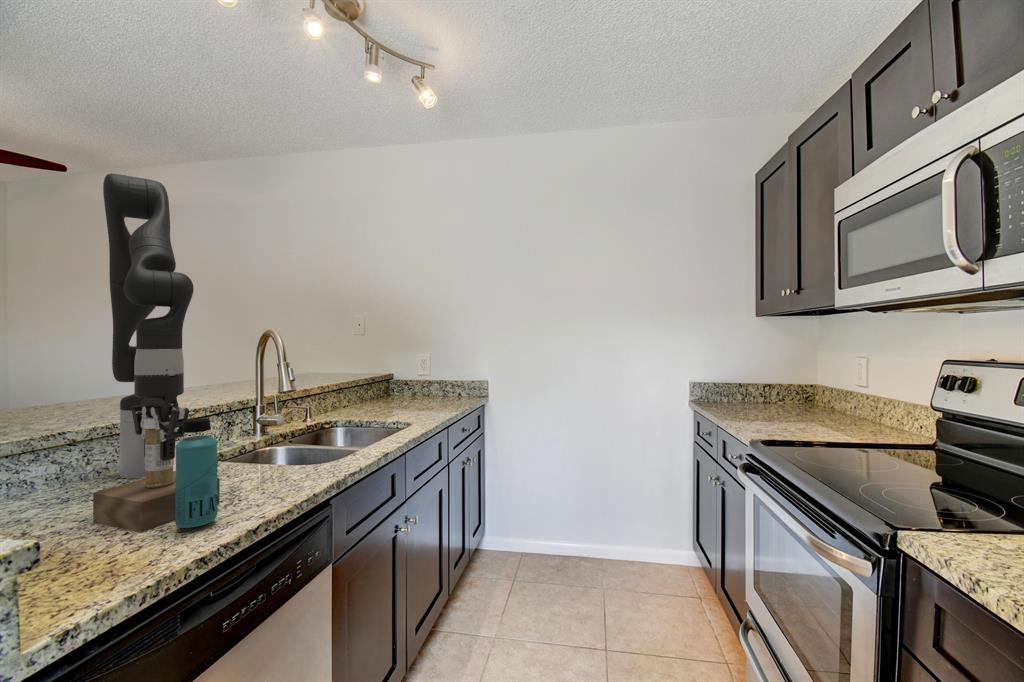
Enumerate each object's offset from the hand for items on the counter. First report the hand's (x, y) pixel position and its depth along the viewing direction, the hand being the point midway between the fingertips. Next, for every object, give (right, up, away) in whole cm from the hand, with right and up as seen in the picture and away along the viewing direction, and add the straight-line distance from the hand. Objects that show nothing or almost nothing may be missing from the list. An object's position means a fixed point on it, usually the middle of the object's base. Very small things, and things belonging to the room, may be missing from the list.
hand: (159, 457), depth 84 cm
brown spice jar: (0, -6, 0) cm, 6 cm away
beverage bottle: (+12, -11, -7) cm, 18 cm away
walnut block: (0, -11, 0) cm, 11 cm away
